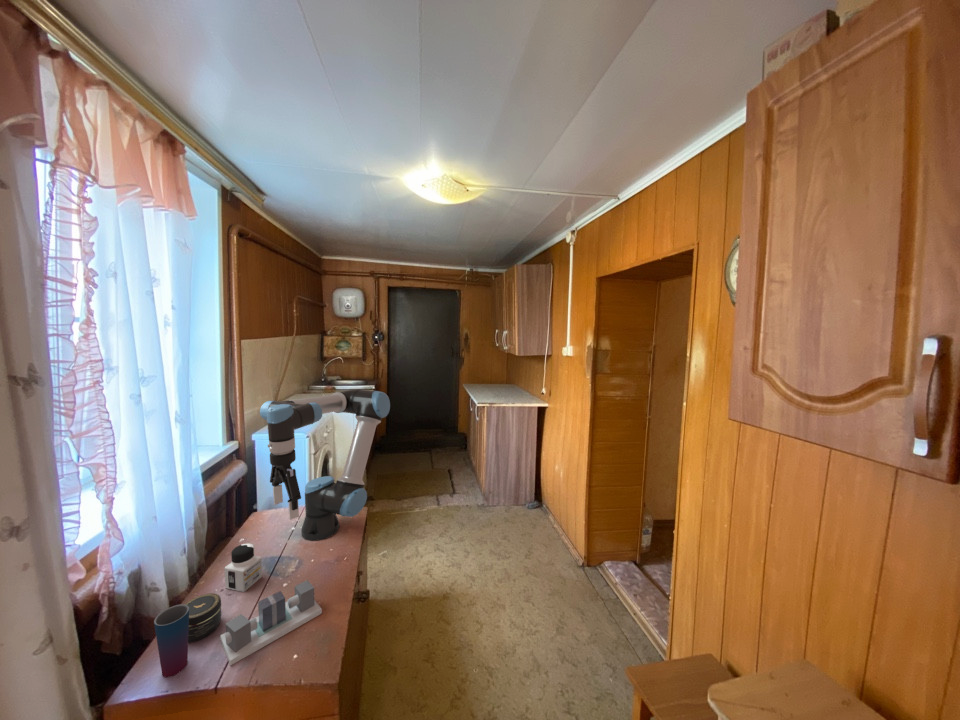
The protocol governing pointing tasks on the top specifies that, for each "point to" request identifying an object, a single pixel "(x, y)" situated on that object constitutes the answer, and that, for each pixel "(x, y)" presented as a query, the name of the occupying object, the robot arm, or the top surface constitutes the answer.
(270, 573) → the top surface
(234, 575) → the container
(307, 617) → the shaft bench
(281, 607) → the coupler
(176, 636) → the cup
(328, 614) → the top surface
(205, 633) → the jar
